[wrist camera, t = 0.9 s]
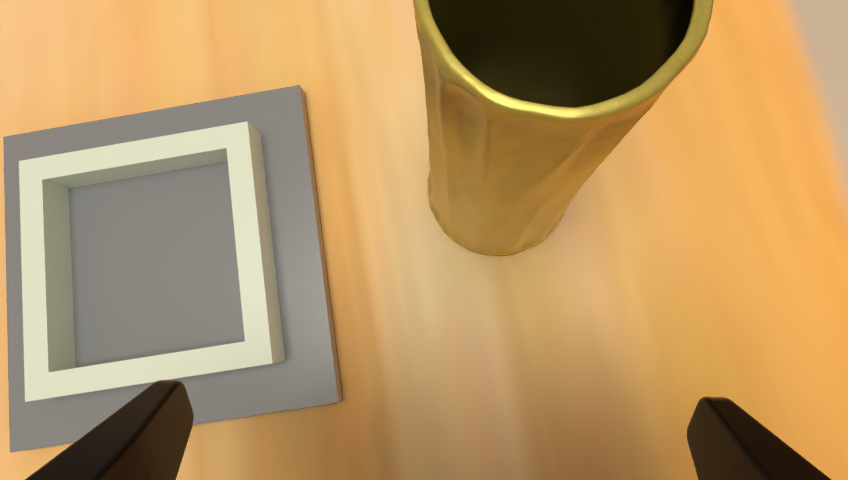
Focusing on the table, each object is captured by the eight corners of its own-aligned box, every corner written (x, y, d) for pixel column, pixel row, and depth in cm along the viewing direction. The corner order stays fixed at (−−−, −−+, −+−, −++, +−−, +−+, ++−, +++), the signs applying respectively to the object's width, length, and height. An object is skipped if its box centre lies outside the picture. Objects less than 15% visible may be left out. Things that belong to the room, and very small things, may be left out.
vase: (499, 285, 22) (572, 223, 8) (399, 189, 23) (311, -17, 9) (596, 186, 23) (826, -36, 9) (494, 95, 24) (551, -240, 9)
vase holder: (342, 399, 22) (329, 408, 20) (25, 447, 22) (-23, 462, 20) (304, 92, 24) (288, 69, 22) (17, 142, 25) (-27, 124, 22)
